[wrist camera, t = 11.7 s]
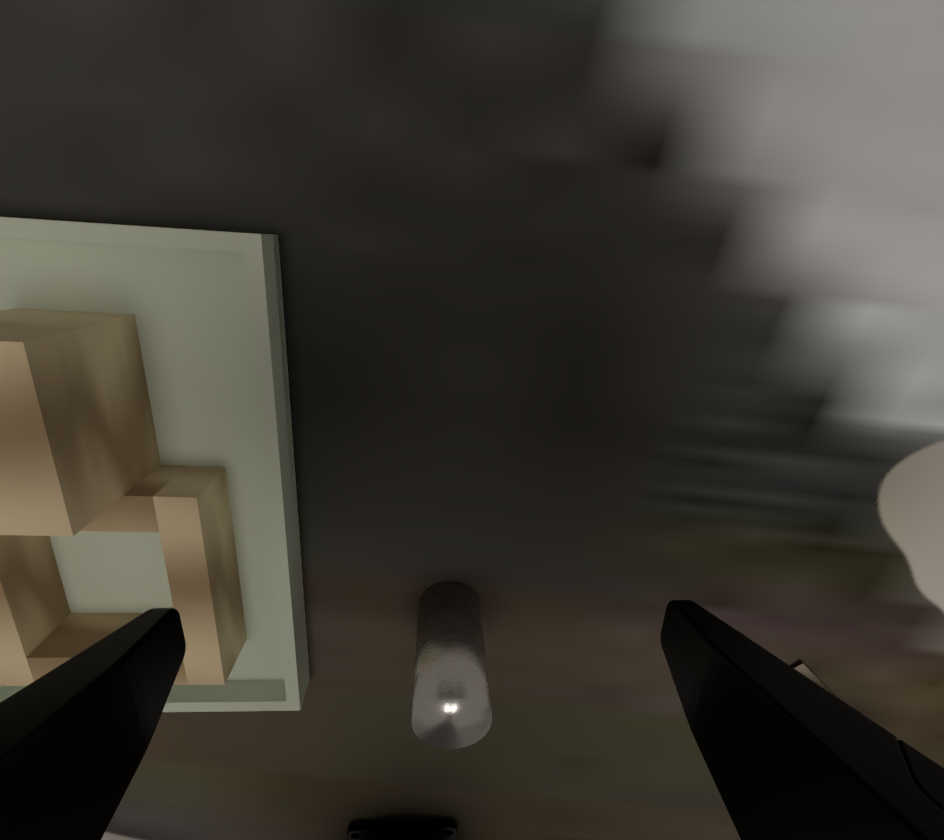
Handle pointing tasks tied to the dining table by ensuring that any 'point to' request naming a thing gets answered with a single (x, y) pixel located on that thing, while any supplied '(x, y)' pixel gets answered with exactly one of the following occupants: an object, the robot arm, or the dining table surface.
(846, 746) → the robot arm
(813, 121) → the dining table surface
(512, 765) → the dining table surface
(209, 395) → the tray
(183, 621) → the wooden block frame
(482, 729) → the cylinder
